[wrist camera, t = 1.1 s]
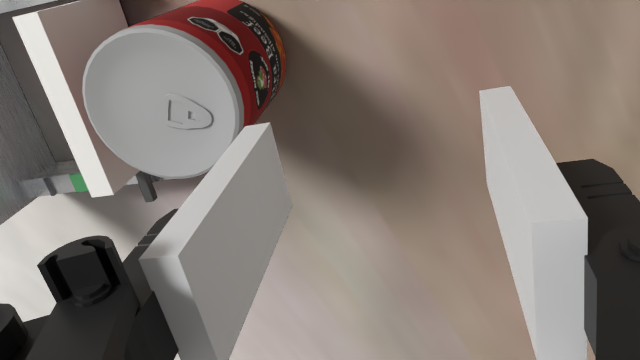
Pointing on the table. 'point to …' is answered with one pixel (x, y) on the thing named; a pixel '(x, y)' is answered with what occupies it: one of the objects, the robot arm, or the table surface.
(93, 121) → the canned food
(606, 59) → the table surface
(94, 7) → the white flat block
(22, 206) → the frame
